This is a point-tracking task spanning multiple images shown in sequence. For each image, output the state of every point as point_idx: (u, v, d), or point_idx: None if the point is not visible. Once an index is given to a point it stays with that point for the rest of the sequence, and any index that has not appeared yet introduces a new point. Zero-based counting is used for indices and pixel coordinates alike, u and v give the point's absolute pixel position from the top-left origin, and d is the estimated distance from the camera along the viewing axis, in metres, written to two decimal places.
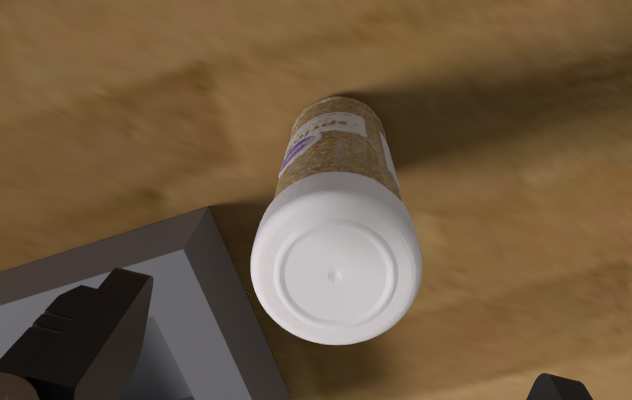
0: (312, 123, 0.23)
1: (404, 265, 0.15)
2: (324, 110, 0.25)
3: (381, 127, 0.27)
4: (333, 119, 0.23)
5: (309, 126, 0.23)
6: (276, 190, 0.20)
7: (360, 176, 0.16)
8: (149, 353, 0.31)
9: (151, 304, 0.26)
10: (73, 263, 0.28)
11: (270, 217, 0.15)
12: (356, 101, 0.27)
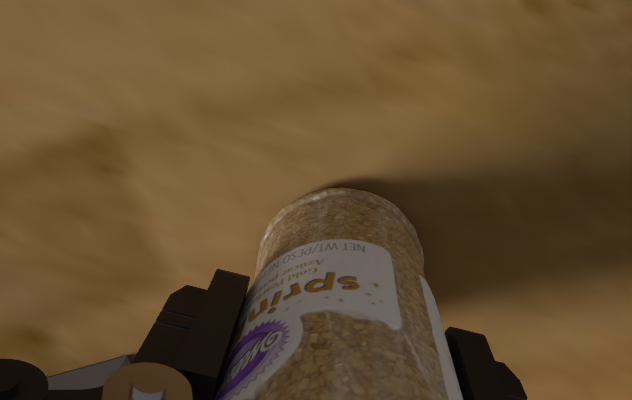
0: (289, 268, 0.12)
1: None
2: (315, 226, 0.13)
3: (416, 242, 0.15)
4: (330, 267, 0.11)
5: (282, 277, 0.12)
6: None
7: None
8: None
9: None
10: None
11: None
12: (373, 198, 0.15)
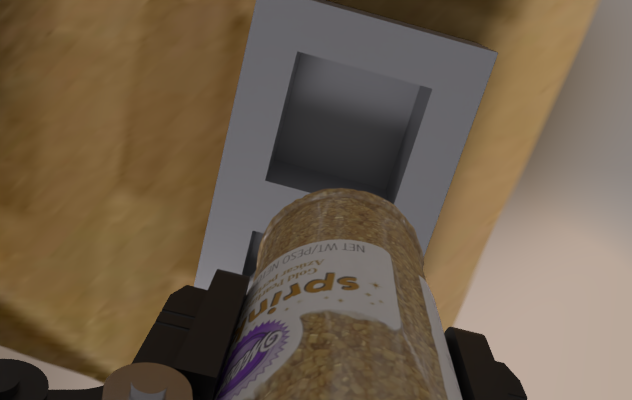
0: (288, 269, 0.12)
1: None
2: (314, 227, 0.13)
3: (416, 242, 0.15)
4: (330, 267, 0.11)
5: (282, 277, 0.12)
6: None
7: None
8: (353, 117, 0.35)
9: (287, 45, 0.30)
10: None
11: None
12: (373, 198, 0.15)
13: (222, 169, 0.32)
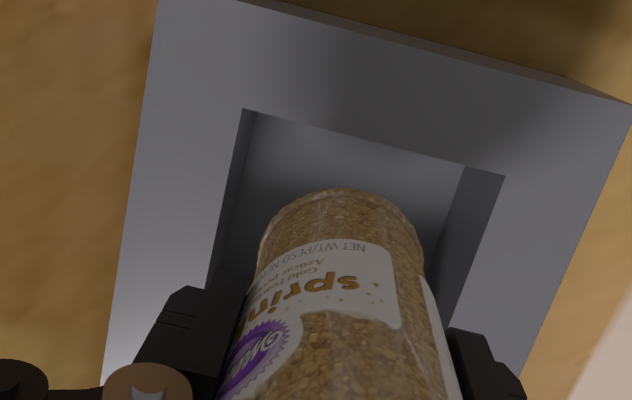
0: (289, 268, 0.12)
1: None
2: (315, 226, 0.13)
3: (416, 242, 0.15)
4: (330, 266, 0.11)
5: (282, 276, 0.12)
6: None
7: None
8: None
9: (222, 96, 0.15)
10: None
11: None
12: (373, 198, 0.15)
13: (116, 318, 0.17)
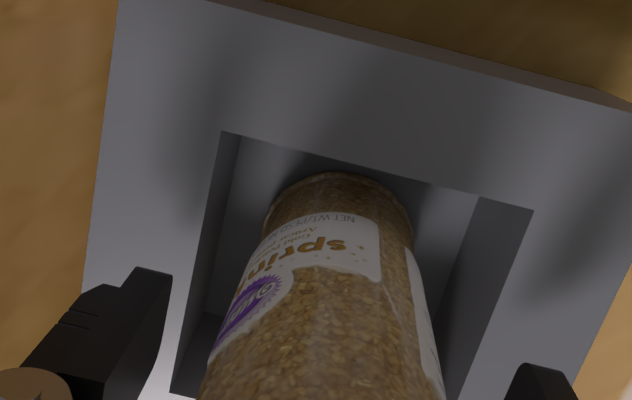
0: (285, 236, 0.13)
1: None
2: (311, 203, 0.15)
3: (407, 222, 0.17)
4: (321, 233, 0.13)
5: (279, 242, 0.13)
6: None
7: None
8: None
9: (197, 116, 0.13)
10: None
11: None
12: (366, 181, 0.16)
13: None
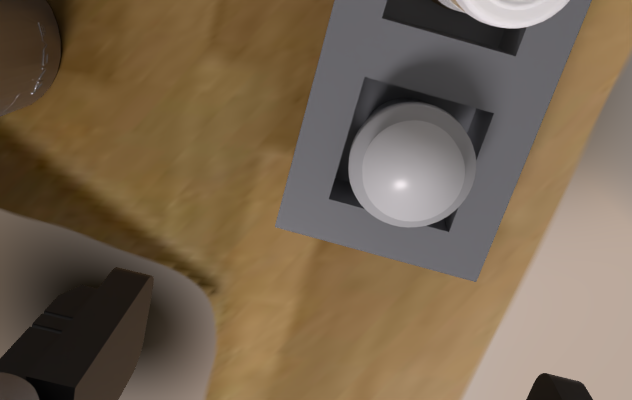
0: None
1: None
2: None
3: None
4: None
5: None
6: None
7: None
8: None
9: None
10: None
11: None
12: None
13: (337, 6, 0.30)
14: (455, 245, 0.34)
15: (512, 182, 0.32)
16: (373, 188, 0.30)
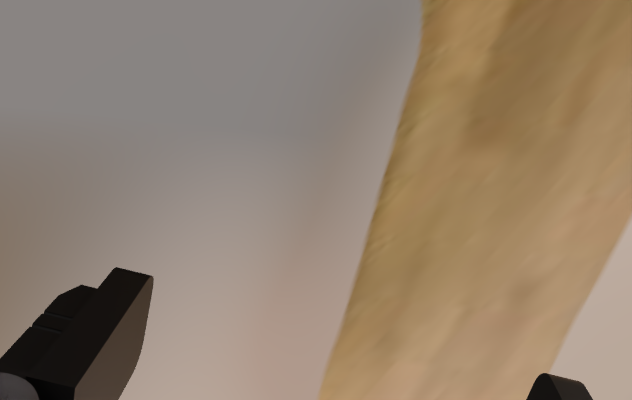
0: None
1: None
2: None
3: None
4: None
5: None
6: None
7: None
8: None
9: None
10: None
11: None
12: None
13: None
14: None
15: None
16: None
